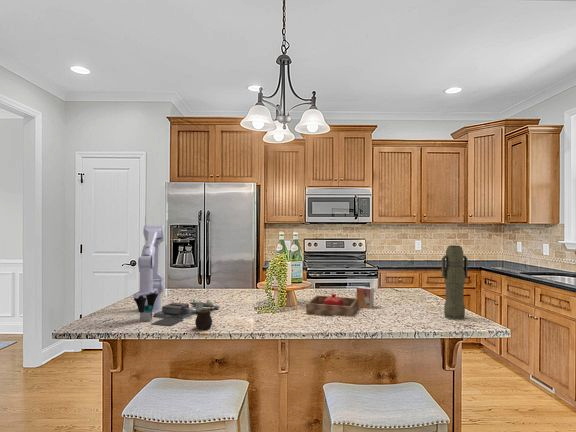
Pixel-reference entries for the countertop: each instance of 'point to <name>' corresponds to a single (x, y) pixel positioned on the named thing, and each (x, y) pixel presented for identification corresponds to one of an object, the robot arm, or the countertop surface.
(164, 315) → the base
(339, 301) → the butter dish
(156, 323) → the key mat
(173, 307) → the grey slotted holder
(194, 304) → the metal bracket
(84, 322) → the countertop surface
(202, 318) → the mate gourd
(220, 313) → the countertop surface
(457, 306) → the thermos
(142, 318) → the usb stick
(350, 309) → the brown wooden tray
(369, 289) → the small box
